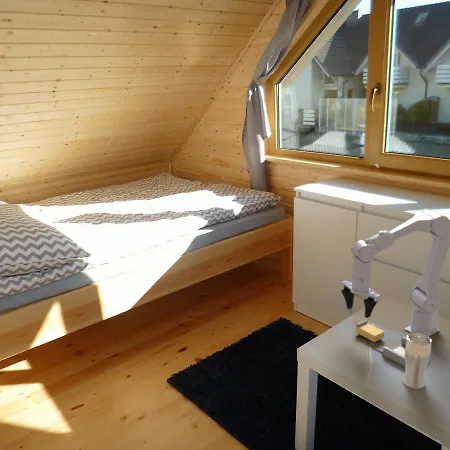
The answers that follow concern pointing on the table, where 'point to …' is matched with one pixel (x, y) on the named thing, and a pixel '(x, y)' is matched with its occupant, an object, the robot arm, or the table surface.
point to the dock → (393, 350)
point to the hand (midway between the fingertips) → (358, 312)
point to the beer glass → (416, 359)
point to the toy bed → (369, 331)
